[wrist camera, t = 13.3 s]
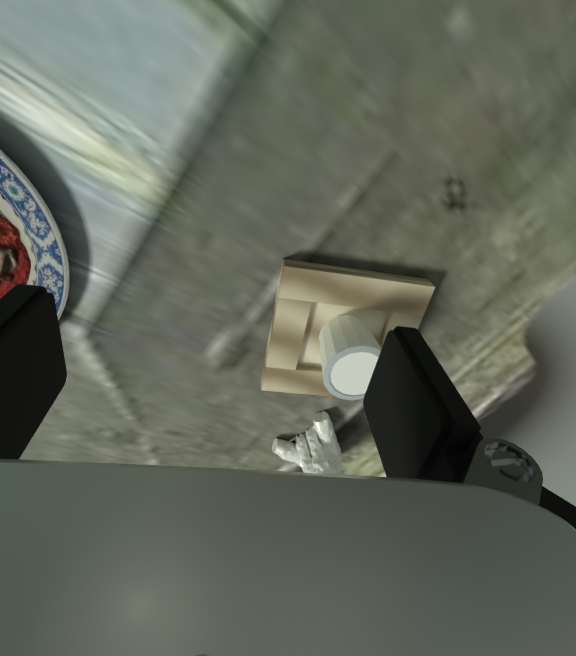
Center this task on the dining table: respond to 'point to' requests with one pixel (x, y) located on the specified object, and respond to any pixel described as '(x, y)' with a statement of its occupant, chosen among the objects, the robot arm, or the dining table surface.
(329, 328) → the white cup
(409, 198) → the dining table surface
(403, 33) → the dining table surface
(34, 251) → the ceramic plate
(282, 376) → the coaster board
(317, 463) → the sitting furry creature
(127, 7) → the dining table surface
